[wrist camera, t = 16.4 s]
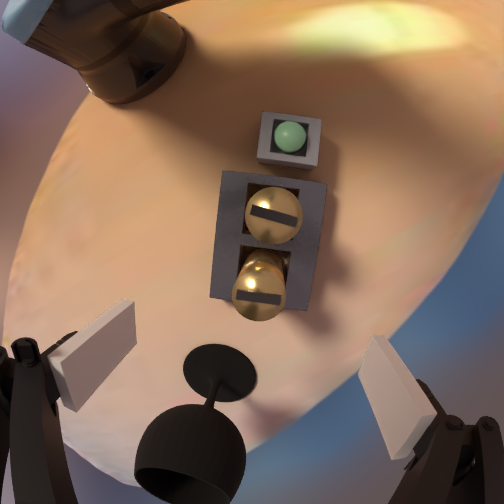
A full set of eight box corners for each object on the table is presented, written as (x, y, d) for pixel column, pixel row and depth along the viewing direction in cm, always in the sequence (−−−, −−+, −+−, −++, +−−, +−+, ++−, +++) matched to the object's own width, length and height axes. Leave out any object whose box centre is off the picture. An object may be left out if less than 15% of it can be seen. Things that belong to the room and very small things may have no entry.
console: (258, 163, 30) (256, 157, 26) (263, 122, 29) (262, 111, 25) (311, 170, 29) (317, 165, 25) (315, 129, 28) (321, 119, 24)
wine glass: (247, 338, 34) (220, 466, 14) (262, 397, 35) (252, 516, 16) (173, 346, 35) (104, 451, 15) (196, 402, 36) (155, 506, 17)
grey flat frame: (214, 290, 33) (209, 297, 30) (226, 172, 30) (222, 170, 28) (304, 302, 32) (306, 310, 30) (322, 185, 29) (327, 183, 27)
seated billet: (246, 223, 31) (238, 236, 21) (257, 186, 30) (253, 179, 20) (284, 234, 31) (293, 251, 21) (294, 197, 30) (310, 196, 20)
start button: (273, 151, 27) (272, 148, 25) (276, 124, 26) (276, 119, 24) (302, 155, 26) (304, 152, 24) (304, 128, 26) (307, 123, 24)
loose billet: (242, 282, 32) (228, 318, 22) (246, 246, 31) (234, 267, 21) (279, 287, 32) (281, 325, 22) (284, 251, 31) (290, 275, 21)
